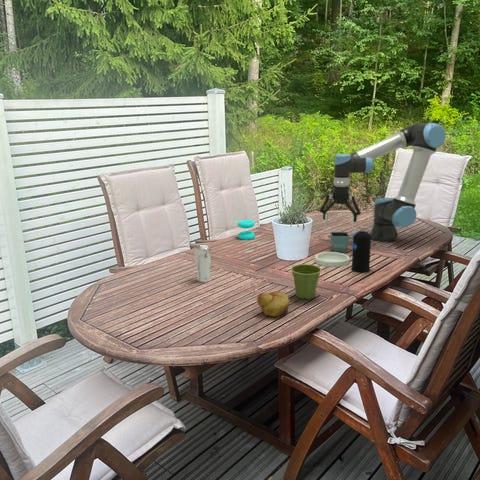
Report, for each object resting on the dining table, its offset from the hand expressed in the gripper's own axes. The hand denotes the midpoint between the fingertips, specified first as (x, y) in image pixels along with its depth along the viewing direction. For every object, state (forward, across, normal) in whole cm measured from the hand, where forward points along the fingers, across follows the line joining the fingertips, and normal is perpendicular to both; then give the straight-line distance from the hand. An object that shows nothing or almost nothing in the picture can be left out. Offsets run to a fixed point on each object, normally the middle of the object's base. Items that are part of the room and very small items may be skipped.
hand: (339, 227), depth 225 cm
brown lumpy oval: (+14, -7, -80) cm, 82 cm away
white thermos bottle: (+14, -47, -60) cm, 78 cm away
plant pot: (+14, 0, -63) cm, 64 cm away
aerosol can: (+13, +15, -25) cm, 32 cm away
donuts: (+14, -55, +8) cm, 57 cm away
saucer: (+13, +1, -18) cm, 22 cm away
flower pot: (+13, 0, 0) cm, 13 cm away
